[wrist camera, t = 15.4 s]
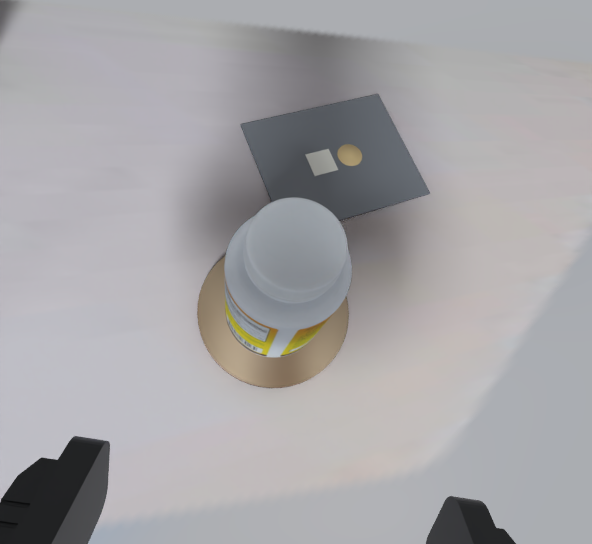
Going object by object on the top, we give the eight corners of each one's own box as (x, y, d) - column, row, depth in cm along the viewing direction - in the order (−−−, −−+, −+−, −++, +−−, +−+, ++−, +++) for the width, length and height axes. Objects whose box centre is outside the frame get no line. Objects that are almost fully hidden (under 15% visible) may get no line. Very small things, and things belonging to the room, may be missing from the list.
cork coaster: (226, 412, 25) (225, 411, 24) (179, 267, 27) (178, 264, 27) (369, 356, 27) (372, 354, 26) (313, 227, 29) (315, 223, 29)
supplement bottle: (321, 275, 28) (372, 190, 18) (314, 365, 26) (366, 322, 16) (232, 262, 27) (236, 167, 18) (217, 352, 25) (212, 301, 16)
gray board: (285, 237, 29) (286, 235, 29) (240, 127, 32) (240, 123, 31) (427, 195, 32) (430, 192, 32) (376, 97, 34) (378, 93, 34)
